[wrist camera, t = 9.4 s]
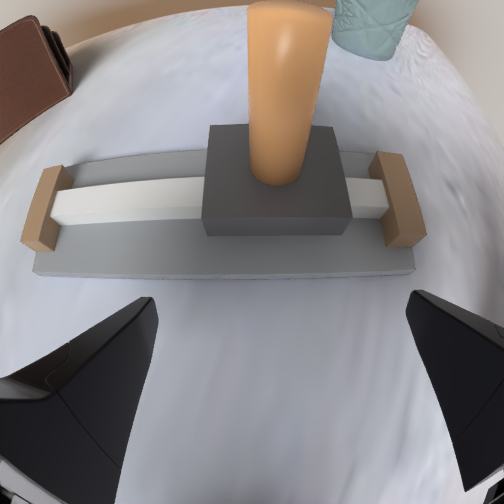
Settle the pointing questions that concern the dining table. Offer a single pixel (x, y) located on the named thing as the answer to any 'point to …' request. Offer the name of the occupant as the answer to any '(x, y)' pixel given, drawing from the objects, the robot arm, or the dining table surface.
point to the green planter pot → (371, 26)
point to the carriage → (278, 136)
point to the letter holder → (30, 73)
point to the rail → (192, 229)
